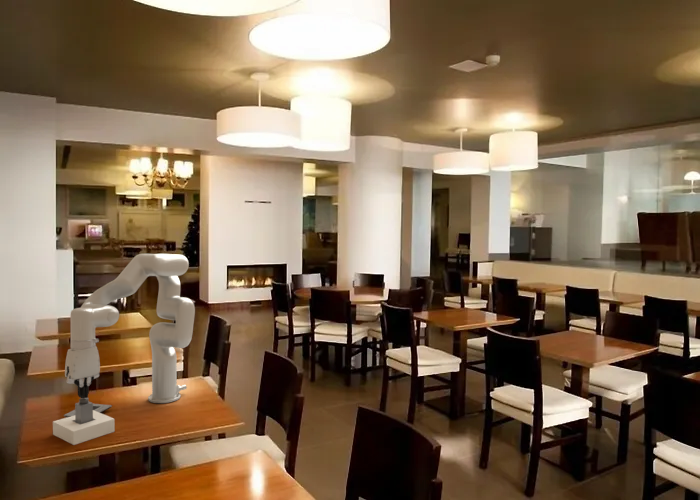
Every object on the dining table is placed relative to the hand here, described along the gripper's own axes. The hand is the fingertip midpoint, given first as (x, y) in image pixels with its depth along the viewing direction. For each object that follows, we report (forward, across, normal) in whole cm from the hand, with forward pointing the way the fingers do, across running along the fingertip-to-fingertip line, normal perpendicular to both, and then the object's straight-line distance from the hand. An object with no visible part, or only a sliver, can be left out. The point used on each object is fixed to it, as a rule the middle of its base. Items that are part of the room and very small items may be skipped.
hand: (83, 397), depth 178 cm
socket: (+13, 0, 0) cm, 13 cm away
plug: (+12, 0, 0) cm, 12 cm away
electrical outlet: (+13, -10, -16) cm, 23 cm away
